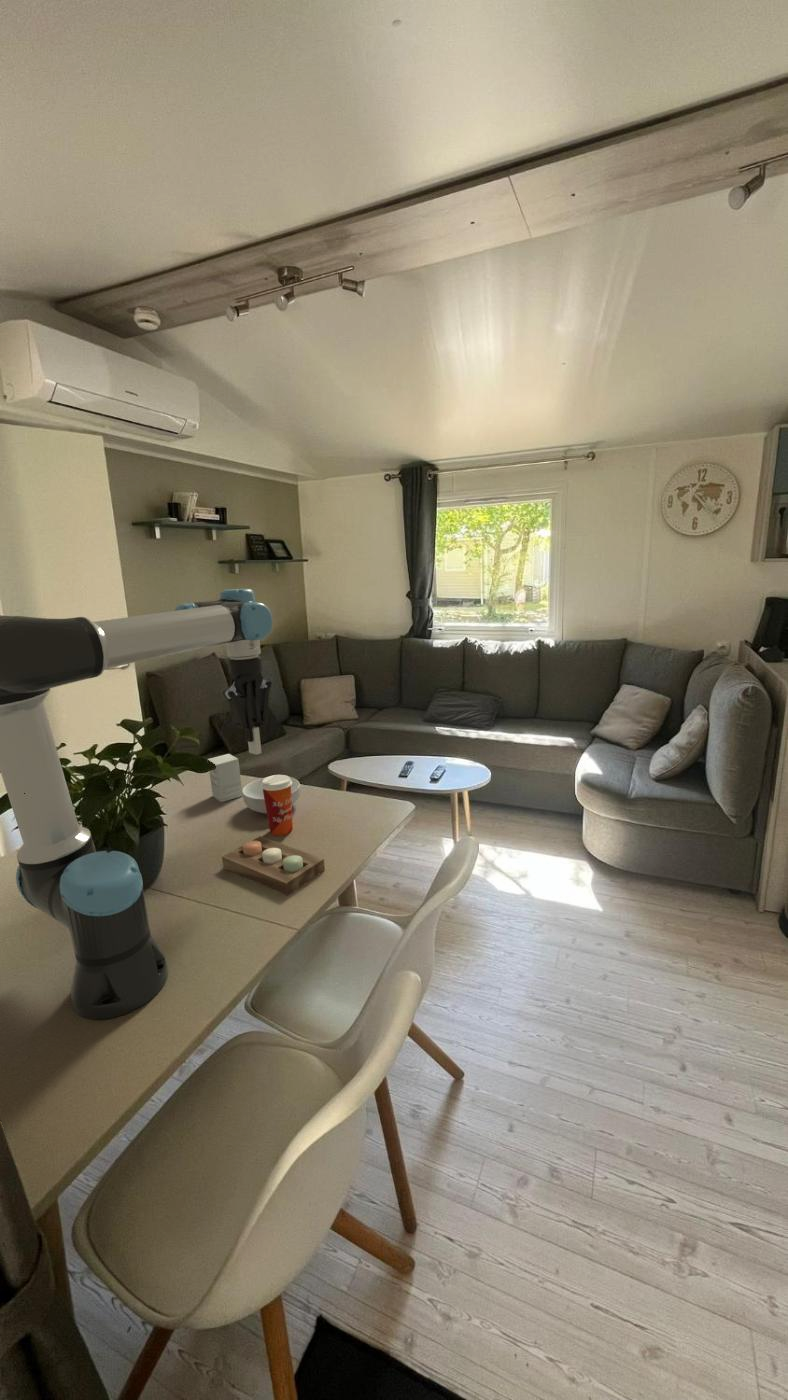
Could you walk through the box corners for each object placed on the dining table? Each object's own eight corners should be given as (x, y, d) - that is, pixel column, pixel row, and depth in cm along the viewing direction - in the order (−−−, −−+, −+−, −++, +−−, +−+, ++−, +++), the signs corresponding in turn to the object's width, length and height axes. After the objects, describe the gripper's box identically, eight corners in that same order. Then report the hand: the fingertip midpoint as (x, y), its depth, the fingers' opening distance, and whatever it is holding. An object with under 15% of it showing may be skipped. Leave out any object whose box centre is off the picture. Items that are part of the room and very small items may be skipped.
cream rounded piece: (272, 872, 131) (271, 859, 130) (259, 867, 133) (258, 854, 132) (286, 864, 134) (285, 850, 133) (273, 859, 137) (272, 846, 136)
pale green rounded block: (294, 881, 127) (292, 867, 126) (280, 876, 129) (278, 862, 128) (307, 872, 130) (306, 858, 129) (294, 867, 133) (292, 853, 132)
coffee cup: (280, 841, 147) (274, 787, 144) (259, 833, 152) (253, 781, 149) (303, 828, 154) (298, 777, 150) (283, 821, 159) (277, 771, 155)
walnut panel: (287, 895, 123) (286, 883, 122) (223, 868, 136) (221, 856, 135) (324, 870, 132) (323, 858, 132) (261, 846, 145) (260, 836, 144)
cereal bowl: (232, 812, 166) (229, 790, 165) (275, 793, 179) (273, 772, 177) (271, 826, 156) (268, 802, 154) (313, 804, 169) (311, 782, 167)
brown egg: (252, 864, 135) (250, 851, 134) (240, 859, 137) (238, 846, 136) (266, 856, 138) (264, 843, 137) (254, 852, 141) (252, 839, 140)
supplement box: (234, 789, 183) (229, 752, 180) (243, 796, 178) (238, 758, 175) (211, 796, 179) (206, 758, 176) (220, 803, 173) (215, 764, 170)
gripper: (232, 662, 123) (244, 763, 129) (276, 653, 133) (285, 747, 139) (211, 660, 127) (223, 758, 133) (255, 651, 138) (265, 743, 143)
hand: (255, 752), depth 136 cm, fingers closed
